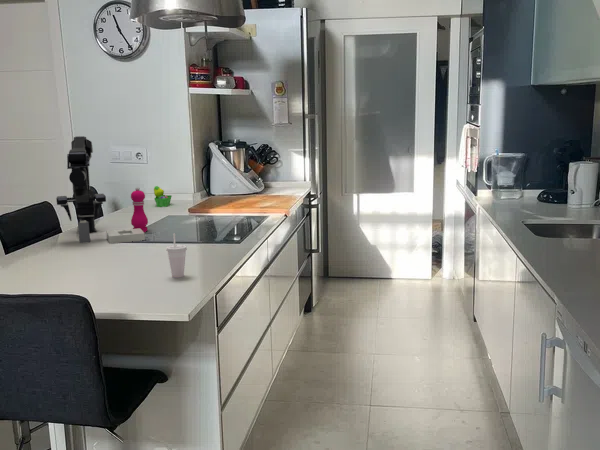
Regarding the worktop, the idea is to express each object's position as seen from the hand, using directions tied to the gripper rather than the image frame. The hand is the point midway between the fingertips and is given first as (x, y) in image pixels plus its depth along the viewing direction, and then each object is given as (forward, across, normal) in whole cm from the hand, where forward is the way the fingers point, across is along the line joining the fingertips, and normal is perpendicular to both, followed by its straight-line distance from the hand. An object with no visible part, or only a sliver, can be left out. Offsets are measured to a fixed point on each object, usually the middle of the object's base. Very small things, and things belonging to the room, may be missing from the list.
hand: (82, 220), depth 245 cm
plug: (+9, 0, 0) cm, 9 cm away
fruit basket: (+10, +47, +83) cm, 96 cm away
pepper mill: (+9, +24, +11) cm, 28 cm away
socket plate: (+9, +16, -3) cm, 19 cm away
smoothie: (+9, +24, -70) cm, 75 cm away
